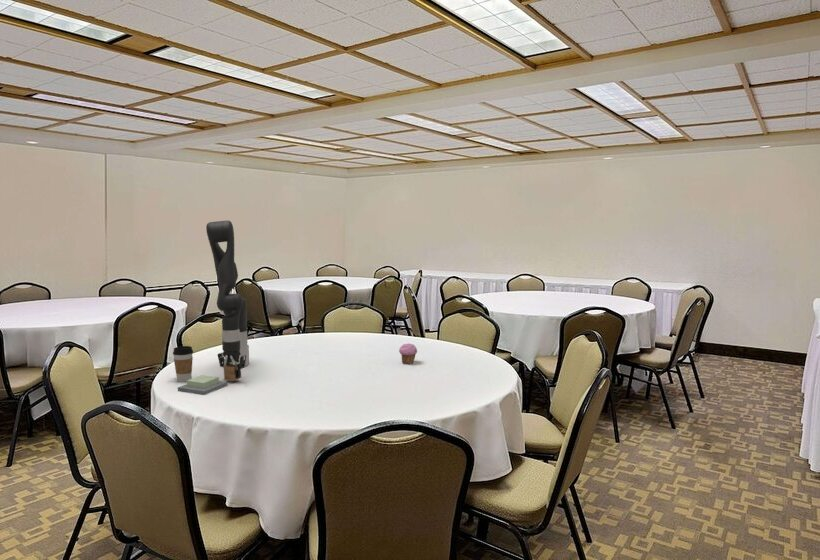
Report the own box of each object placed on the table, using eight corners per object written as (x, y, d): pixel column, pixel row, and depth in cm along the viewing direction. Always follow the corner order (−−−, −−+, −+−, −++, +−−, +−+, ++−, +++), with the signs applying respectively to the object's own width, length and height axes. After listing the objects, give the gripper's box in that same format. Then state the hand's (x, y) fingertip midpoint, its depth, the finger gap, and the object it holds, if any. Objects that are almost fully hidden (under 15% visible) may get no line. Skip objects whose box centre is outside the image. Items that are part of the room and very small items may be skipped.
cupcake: (396, 364, 274) (396, 344, 273) (404, 360, 281) (404, 340, 280) (412, 366, 270) (412, 346, 269) (420, 362, 277) (420, 342, 276)
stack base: (201, 381, 243) (201, 372, 243) (227, 385, 238) (227, 376, 237) (177, 390, 230) (177, 381, 230) (204, 394, 225) (204, 385, 224)
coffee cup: (172, 383, 240) (171, 349, 239) (175, 378, 248) (173, 345, 247) (193, 382, 242) (191, 348, 241) (195, 376, 251) (194, 344, 249)
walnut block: (231, 376, 247) (231, 363, 246) (241, 377, 245) (240, 364, 244) (224, 379, 242) (223, 366, 241) (233, 380, 240) (233, 367, 240)
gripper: (250, 338, 242) (251, 376, 244) (223, 336, 247) (225, 373, 249) (239, 342, 235) (240, 381, 237) (212, 339, 240) (213, 377, 242)
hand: (232, 377), depth 243 cm, fingers closed on walnut block, 5 cm apart
